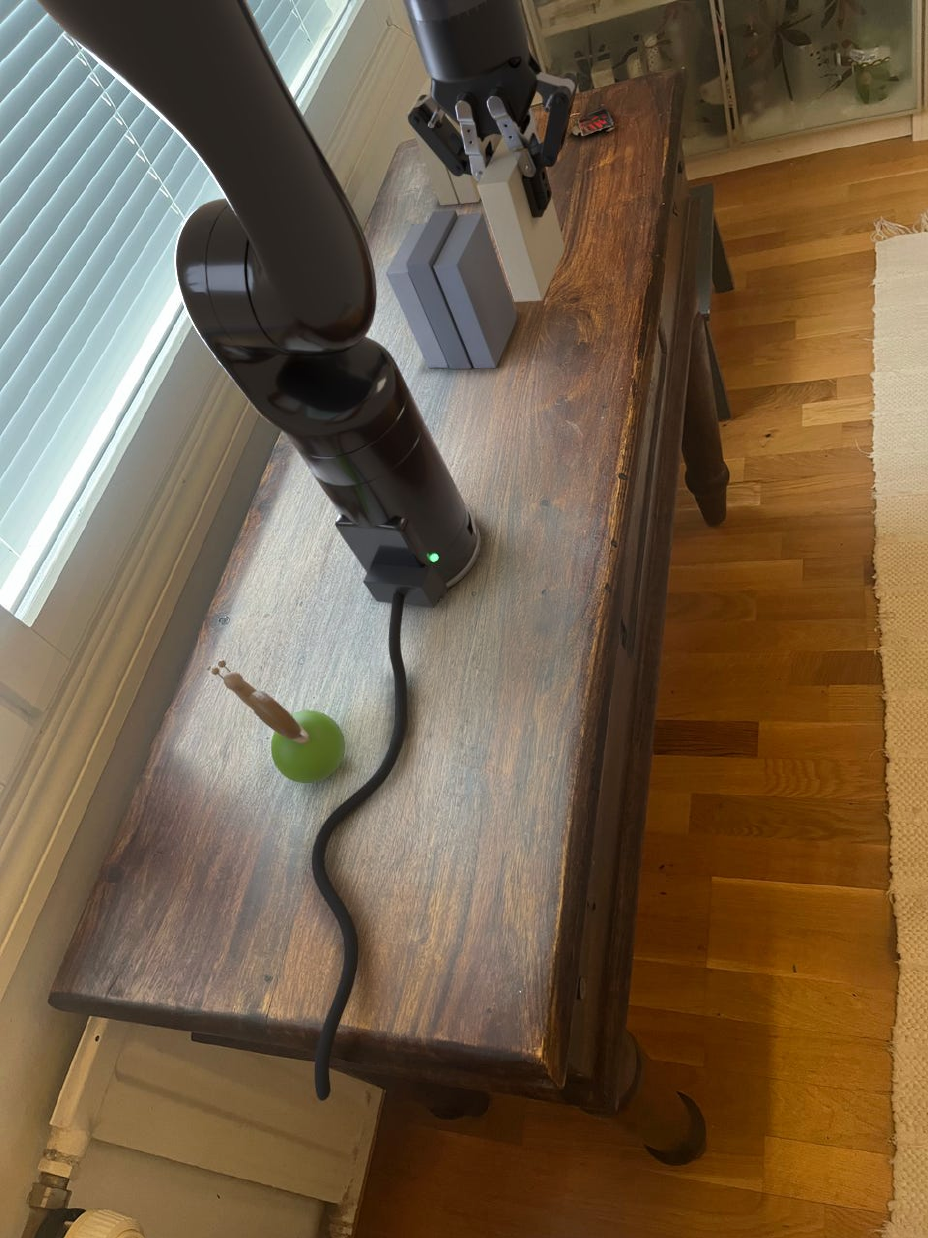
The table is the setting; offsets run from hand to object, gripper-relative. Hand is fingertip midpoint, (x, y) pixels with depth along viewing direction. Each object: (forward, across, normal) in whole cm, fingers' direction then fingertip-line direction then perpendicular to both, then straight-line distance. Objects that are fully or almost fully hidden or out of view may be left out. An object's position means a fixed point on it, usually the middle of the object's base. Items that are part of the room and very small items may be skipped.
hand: (522, 211), depth 76 cm
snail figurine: (+16, -7, -44) cm, 47 cm away
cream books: (+15, -21, +29) cm, 39 cm away
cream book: (+6, 0, 0) cm, 6 cm away
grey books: (+15, -10, +2) cm, 19 cm away
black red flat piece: (+15, -8, +38) cm, 42 cm away
